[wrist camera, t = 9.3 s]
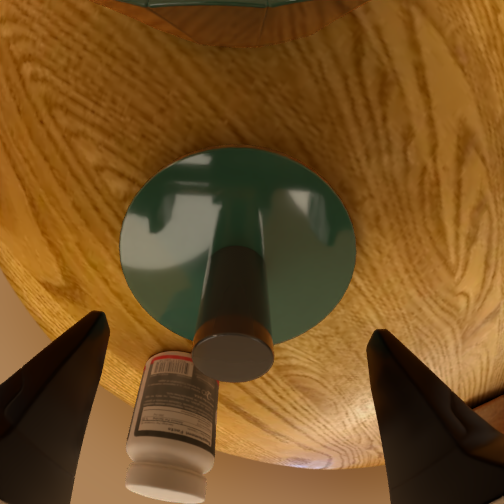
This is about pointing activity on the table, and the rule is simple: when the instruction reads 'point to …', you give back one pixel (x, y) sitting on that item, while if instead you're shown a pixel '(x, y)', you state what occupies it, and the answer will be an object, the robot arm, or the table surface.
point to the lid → (237, 254)
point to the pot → (235, 18)
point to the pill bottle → (172, 430)
